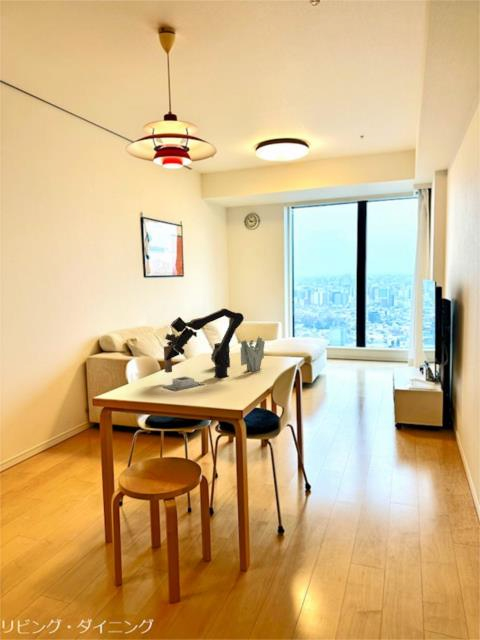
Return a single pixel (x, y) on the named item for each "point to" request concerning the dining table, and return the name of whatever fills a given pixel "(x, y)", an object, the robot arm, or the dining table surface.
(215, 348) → the storage jar
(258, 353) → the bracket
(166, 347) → the rail post
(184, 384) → the grey stand base
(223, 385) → the dining table surface
